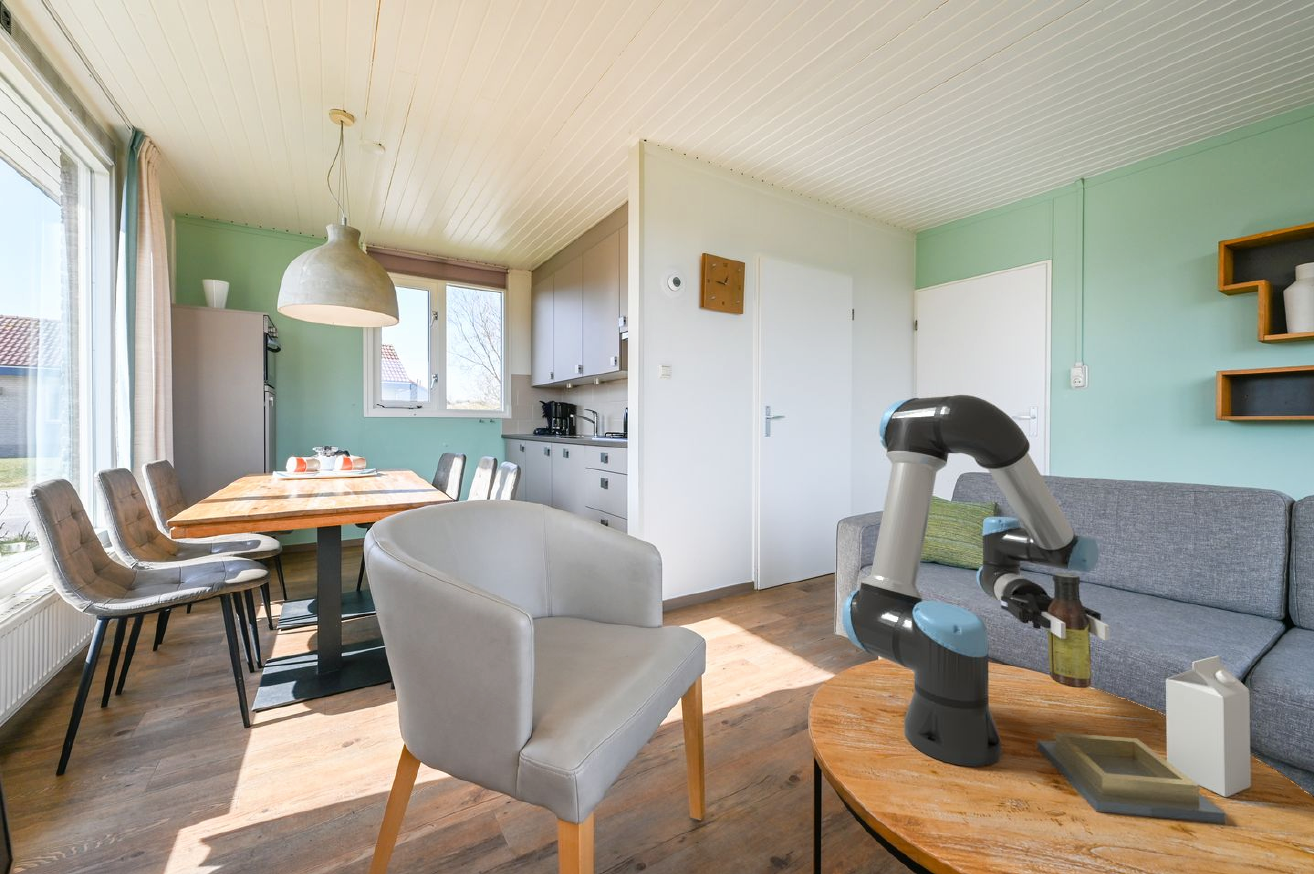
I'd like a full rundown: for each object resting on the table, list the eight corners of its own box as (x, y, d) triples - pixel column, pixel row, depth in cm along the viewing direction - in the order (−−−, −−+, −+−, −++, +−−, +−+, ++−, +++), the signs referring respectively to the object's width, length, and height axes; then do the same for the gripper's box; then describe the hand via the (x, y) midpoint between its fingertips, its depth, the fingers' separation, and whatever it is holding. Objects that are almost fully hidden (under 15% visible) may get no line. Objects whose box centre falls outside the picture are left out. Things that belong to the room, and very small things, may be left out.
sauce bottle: (1100, 690, 96) (1099, 579, 96) (1064, 689, 96) (1063, 579, 97) (1073, 674, 103) (1072, 570, 103) (1039, 673, 103) (1039, 570, 103)
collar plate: (1096, 811, 78) (1096, 783, 78) (1037, 748, 93) (1037, 725, 93) (1225, 824, 75) (1224, 795, 75) (1141, 757, 91) (1141, 733, 91)
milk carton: (1166, 771, 87) (1164, 653, 87) (1192, 761, 89) (1190, 647, 89) (1225, 798, 80) (1223, 671, 80) (1251, 787, 83) (1249, 664, 83)
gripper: (1070, 614, 116) (1147, 657, 93) (973, 610, 119) (1025, 649, 96) (1070, 580, 116) (1147, 613, 93) (973, 576, 119) (1024, 607, 96)
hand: (1084, 631), depth 95 cm, fingers closed on sauce bottle, 6 cm apart
